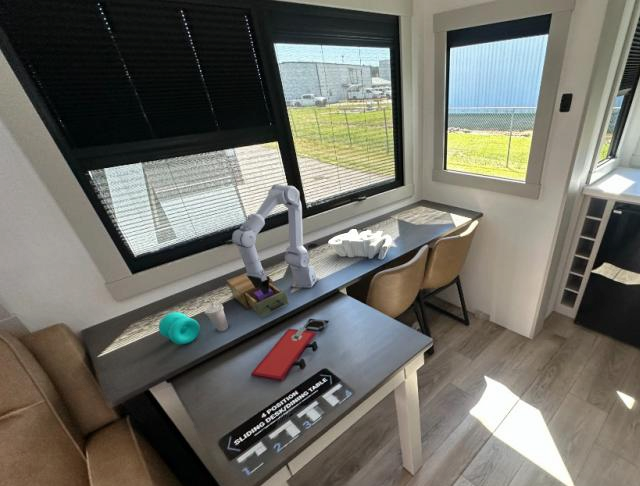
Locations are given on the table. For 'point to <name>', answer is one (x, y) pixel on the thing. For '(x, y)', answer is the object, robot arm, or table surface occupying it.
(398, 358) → the table surface
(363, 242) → the wavy white extrusion
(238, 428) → the table surface
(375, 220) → the table surface
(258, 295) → the purple box
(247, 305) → the cabinet
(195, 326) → the turquoise spool
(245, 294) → the drawer
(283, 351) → the red board with handle
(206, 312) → the smoothie
